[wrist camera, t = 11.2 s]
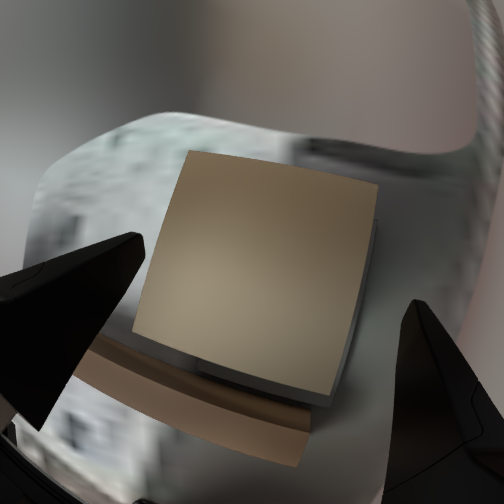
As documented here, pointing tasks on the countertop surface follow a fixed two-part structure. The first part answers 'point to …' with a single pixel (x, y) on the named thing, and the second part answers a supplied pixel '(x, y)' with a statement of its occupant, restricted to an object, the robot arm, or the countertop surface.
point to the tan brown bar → (197, 403)
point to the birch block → (259, 267)
